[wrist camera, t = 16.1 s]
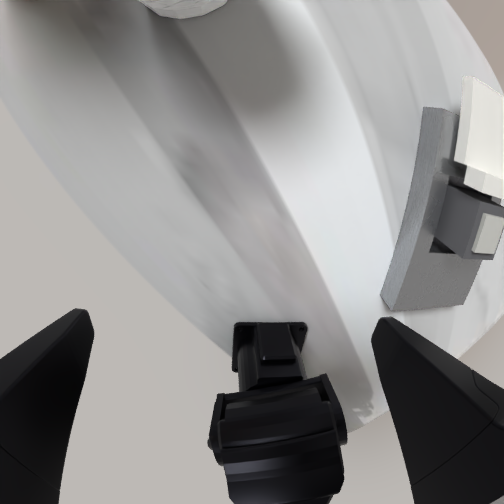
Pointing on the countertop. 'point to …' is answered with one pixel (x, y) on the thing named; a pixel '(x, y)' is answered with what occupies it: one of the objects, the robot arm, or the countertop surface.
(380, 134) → the countertop surface
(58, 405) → the robot arm
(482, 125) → the panel
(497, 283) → the countertop surface
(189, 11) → the white cup
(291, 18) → the countertop surface
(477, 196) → the plug
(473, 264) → the socket plate
